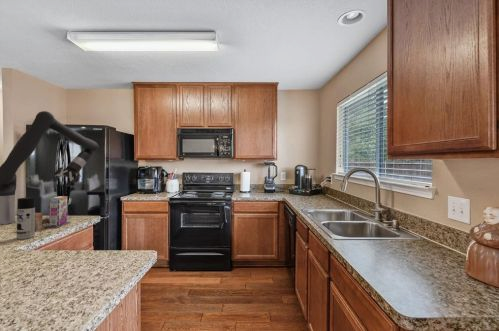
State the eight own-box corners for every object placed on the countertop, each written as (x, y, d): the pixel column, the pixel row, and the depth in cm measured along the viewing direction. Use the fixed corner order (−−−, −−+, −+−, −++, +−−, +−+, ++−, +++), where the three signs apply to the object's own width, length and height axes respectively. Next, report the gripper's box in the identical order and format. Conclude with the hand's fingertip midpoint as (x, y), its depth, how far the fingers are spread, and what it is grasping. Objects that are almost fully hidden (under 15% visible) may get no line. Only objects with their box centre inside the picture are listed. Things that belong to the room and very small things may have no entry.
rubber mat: (44, 228, 142) (44, 227, 142) (59, 222, 155) (59, 221, 155) (57, 227, 143) (57, 226, 143) (70, 222, 156) (70, 221, 156)
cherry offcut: (27, 222, 136) (27, 214, 136) (34, 220, 141) (34, 212, 141) (35, 222, 137) (36, 214, 137) (42, 220, 141) (42, 212, 141)
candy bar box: (58, 226, 144) (59, 198, 144) (48, 226, 143) (49, 198, 143) (67, 221, 155) (67, 195, 155) (58, 222, 154) (58, 196, 154)
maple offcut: (27, 230, 136) (27, 222, 136) (32, 228, 141) (32, 220, 140) (37, 230, 137) (37, 222, 137) (41, 228, 142) (42, 220, 142)
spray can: (13, 239, 121) (13, 198, 121) (28, 235, 128) (28, 196, 128) (23, 240, 120) (23, 199, 120) (38, 236, 126) (38, 197, 126)
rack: (17, 232, 133) (17, 224, 133) (45, 222, 155) (46, 215, 155) (35, 231, 134) (35, 224, 134) (61, 222, 157) (61, 215, 157)
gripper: (64, 158, 166) (46, 177, 157) (84, 165, 167) (68, 185, 157) (68, 164, 172) (51, 182, 163) (88, 171, 173) (72, 190, 163)
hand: (60, 184), depth 160 cm, fingers open, 8 cm apart
